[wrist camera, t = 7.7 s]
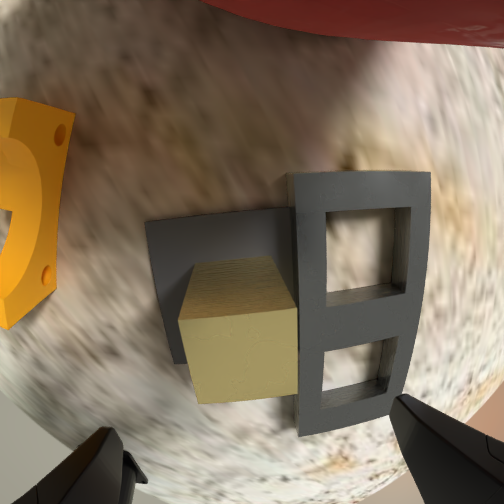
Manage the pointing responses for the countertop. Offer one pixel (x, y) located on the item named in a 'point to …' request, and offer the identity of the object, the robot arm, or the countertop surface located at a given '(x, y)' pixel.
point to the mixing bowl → (383, 19)
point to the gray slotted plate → (355, 292)
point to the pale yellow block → (239, 331)
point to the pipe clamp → (30, 201)
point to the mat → (212, 254)
